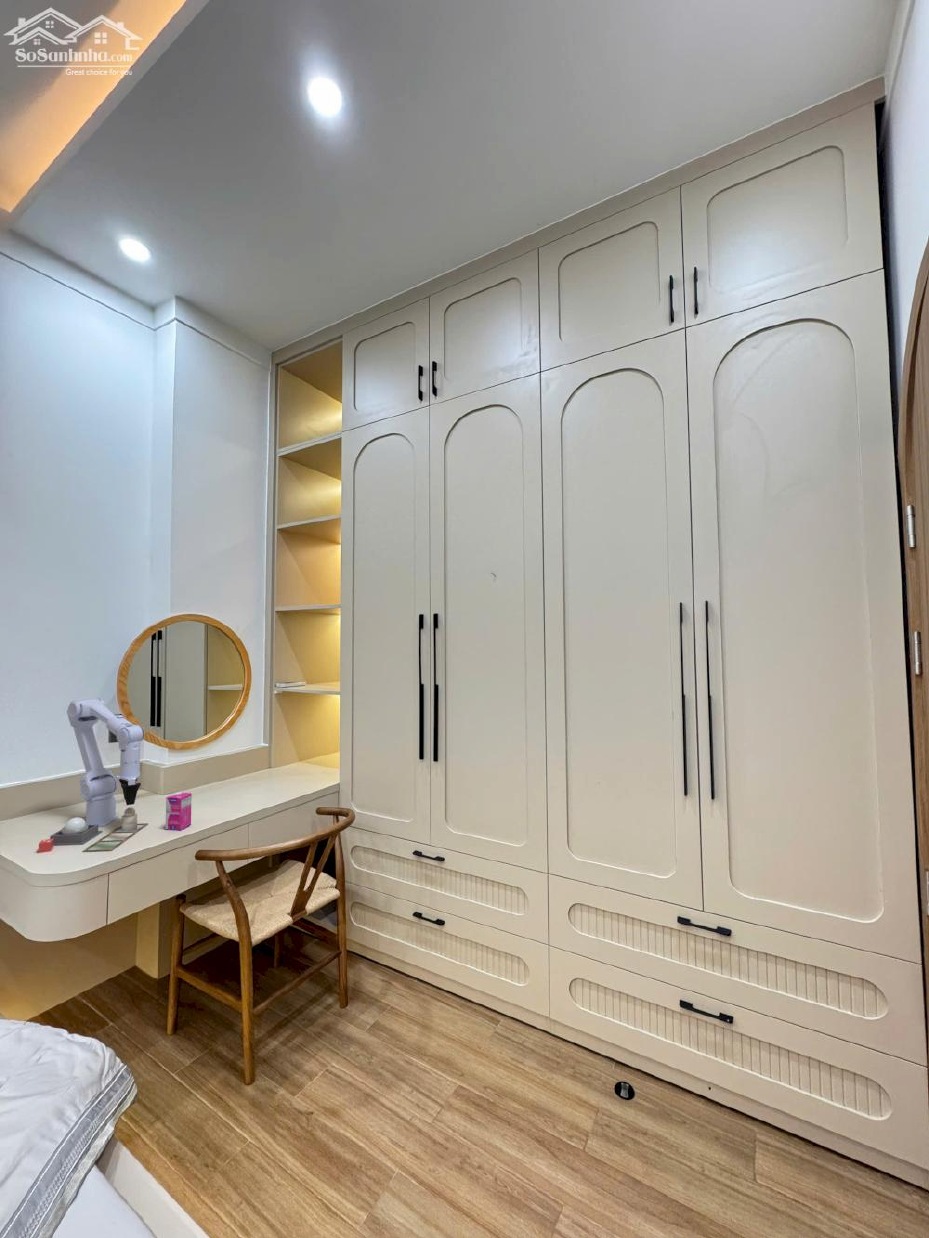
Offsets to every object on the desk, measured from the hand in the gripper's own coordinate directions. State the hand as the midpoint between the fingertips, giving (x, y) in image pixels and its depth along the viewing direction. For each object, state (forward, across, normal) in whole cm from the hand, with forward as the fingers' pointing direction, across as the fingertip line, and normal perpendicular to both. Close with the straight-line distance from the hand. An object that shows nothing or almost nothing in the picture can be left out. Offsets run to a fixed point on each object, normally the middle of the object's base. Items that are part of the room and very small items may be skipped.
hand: (129, 801), depth 179 cm
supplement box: (+10, +8, +14) cm, 19 cm away
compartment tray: (+10, +6, -4) cm, 12 cm away
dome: (+8, 0, -15) cm, 17 cm away
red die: (+9, +6, -22) cm, 24 cm away
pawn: (+9, 0, 0) cm, 9 cm away
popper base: (+9, 0, -15) cm, 17 cm away
